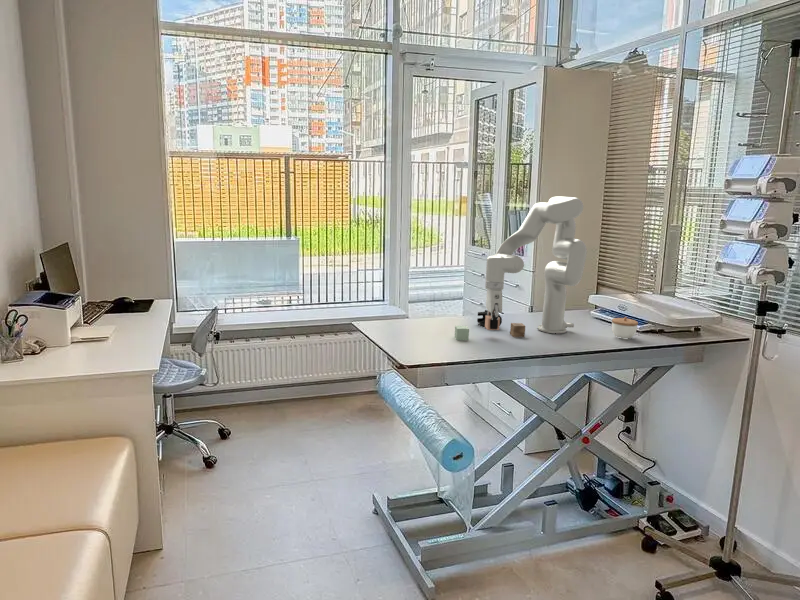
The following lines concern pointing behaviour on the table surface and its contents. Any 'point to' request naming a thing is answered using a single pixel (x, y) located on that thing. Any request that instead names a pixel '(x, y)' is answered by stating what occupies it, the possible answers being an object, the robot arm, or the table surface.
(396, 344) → the table surface
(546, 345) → the table surface
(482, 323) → the black claw piece
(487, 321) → the terracotta block
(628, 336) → the lidded jar
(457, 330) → the sage block
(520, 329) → the walnut block
